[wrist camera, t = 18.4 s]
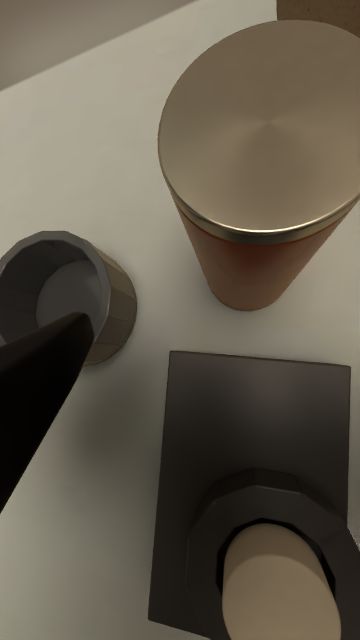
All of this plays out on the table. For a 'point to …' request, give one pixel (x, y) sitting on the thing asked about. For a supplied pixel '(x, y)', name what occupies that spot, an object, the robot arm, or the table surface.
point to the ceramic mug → (323, 12)
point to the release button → (276, 588)
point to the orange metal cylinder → (264, 153)
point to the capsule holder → (65, 290)
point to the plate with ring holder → (250, 479)
